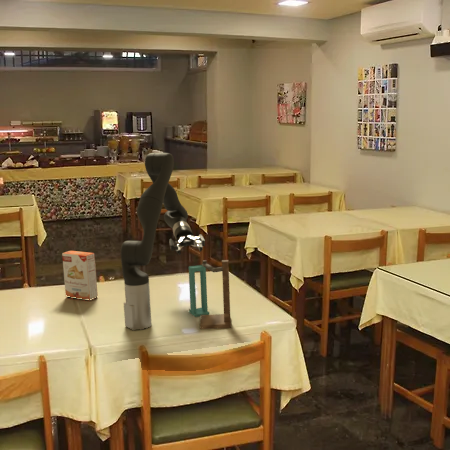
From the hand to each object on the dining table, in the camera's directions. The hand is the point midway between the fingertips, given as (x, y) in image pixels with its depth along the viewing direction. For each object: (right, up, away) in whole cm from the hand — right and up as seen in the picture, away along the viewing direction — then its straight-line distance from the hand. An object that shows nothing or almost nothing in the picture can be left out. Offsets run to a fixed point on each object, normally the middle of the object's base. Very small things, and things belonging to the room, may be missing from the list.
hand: (190, 251), depth 241 cm
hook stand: (+10, -27, -11) cm, 31 cm away
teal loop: (+3, -25, +1) cm, 25 cm away
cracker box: (-50, -22, +28) cm, 62 cm away
